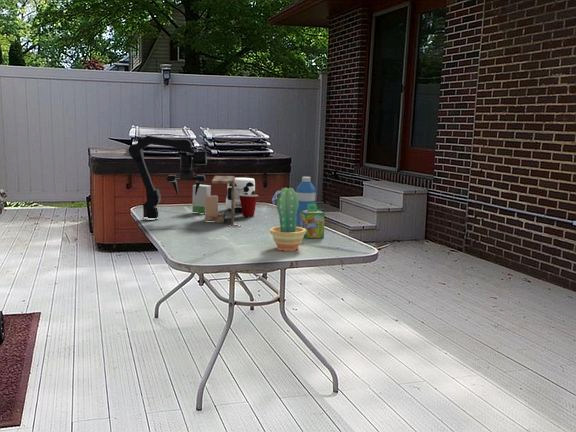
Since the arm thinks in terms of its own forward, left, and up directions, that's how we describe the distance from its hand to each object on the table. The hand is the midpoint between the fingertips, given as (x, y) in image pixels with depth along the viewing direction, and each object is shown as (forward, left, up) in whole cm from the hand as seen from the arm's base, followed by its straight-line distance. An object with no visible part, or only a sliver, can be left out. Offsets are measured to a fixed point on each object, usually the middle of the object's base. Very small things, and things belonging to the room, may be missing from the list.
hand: (186, 195), depth 298 cm
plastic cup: (+27, +21, -13) cm, 37 cm away
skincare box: (0, +23, -13) cm, 27 cm away
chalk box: (+68, -22, -13) cm, 73 cm away
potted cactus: (+62, -49, -13) cm, 80 cm away
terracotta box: (+12, +4, -13) cm, 18 cm away
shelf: (+16, +5, -13) cm, 21 cm away
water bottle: (+62, -4, -13) cm, 64 cm away
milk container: (+18, +39, -13) cm, 45 cm away
